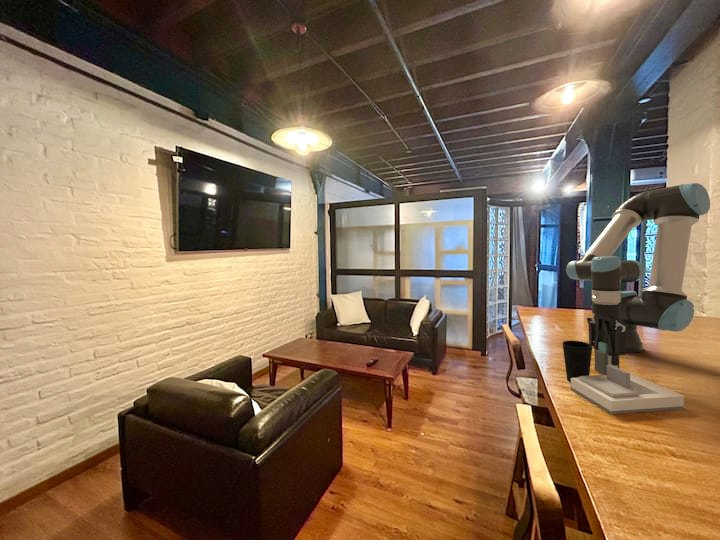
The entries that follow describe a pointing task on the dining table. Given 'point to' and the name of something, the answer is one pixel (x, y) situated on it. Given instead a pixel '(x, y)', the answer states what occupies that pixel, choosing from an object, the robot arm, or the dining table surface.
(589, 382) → the panel
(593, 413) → the dining table surface
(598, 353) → the plug
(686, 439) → the dining table surface
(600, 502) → the dining table surface
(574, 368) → the cup
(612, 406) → the socket board
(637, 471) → the dining table surface
